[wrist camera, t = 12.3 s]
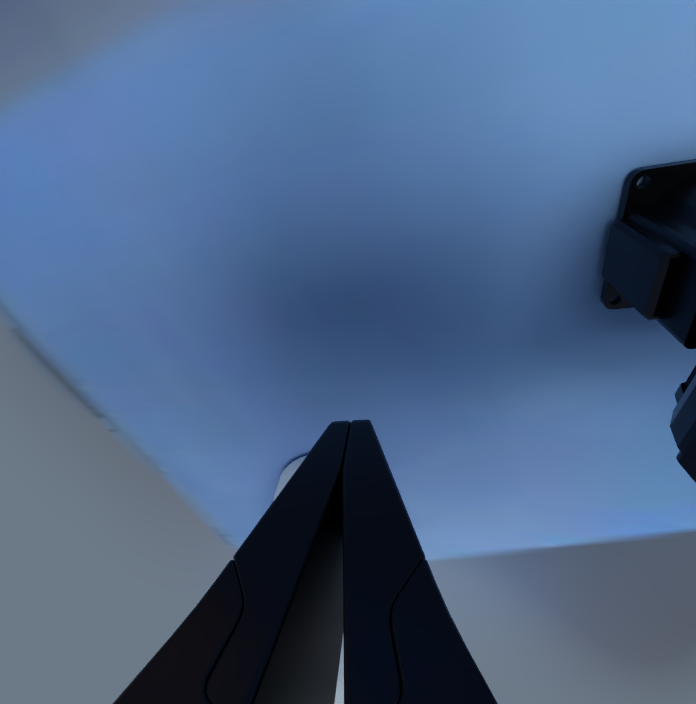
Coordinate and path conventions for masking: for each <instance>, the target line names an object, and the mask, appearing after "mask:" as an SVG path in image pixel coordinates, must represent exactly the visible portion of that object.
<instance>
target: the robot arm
mask: <svg viewBox="0 0 696 704" xmlns="http://www.w3.org/2000/svg"><path fill="white" fill-rule="evenodd" d="M643 176H645V181H644V183H643V184H641V185H640V186H637V181H638V180H639V179H640V178H641V177H643ZM602 276H603V277H604V278H605V280H604V285H603V290H602V294H601V302H602V303H603V305H604V306H605V307H606V308H608V309H621V308H632V307H634V308H635V309H636V310H637V311H638V312H639V313H640V314H641V315H642V316H644V317H645V318H646V319H647V320H657V321H658V322H659V323H660V324H661V325H662V326H664V327H665V328H666V329H667V330H668V331H669V332H670V333H671V334H672V335H673V336H674V337H675V338H676V339H677V340H678V341H679V342H680V343H682V344H683V345H684V346H685V347H686V348H688V349H696V159H694V160H687V161H680V162H674V163H667V164H660V165H653V166H647V167H641V168H638V169H636V170H634V171H633V172H631V173H630V175H629V176H628V177H627V180H626V182H625V187H624V191H623V196H622V201H621V205H620V210H619V215H618V219H617V221H616V222H615V223H614V224H613V225H612V228H611V232H610V237H609V242H608V247H607V252H606V257H605V261H604V266H603V271H602ZM614 296H617V298H616V299H615V300H613V301H610V299H611V298H612V297H614ZM675 398H676V401H677V405H676V407H675V409H674V410H673V415H672V419H671V424H670V428H671V430H672V433H673V436H674V439H675V441H676V444H677V447H678V448H679V450H680V451H679V453H678V454H677V457H676V458H677V460H678V462H679V463H680V465H681V466H682V467H683V468H684V469H685V471H686V472H687V473H688V474H689V475H690V477H691V478H692V479H693V480H694V481H695V482H696V366H695V367H694V369H693V371H692V372H691V374H690V376H689V377H688V379H687V381H686V382H685V383H681V385H680V386H679V388H678V390H677V391H676V393H675ZM233 558H234V560H231V561H230V562H229V563H228V564H227V566H226V567H225V569H224V570H223V571H222V573H221V574H220V575H219V577H218V578H217V579H216V581H215V582H214V583H213V585H212V586H211V587H210V589H209V590H208V591H207V592H206V594H205V595H204V597H203V598H202V599H201V600H200V602H199V603H198V604H197V606H196V607H195V608H194V609H193V610H192V612H191V613H190V614H189V615H188V617H187V618H186V619H185V620H184V621H183V622H182V624H181V625H180V626H179V627H178V628H177V630H176V631H175V632H174V633H173V635H172V636H171V637H170V638H169V639H168V640H167V642H166V643H165V644H164V645H163V646H162V647H161V648H160V650H159V651H158V652H157V653H156V654H155V656H154V657H153V658H152V659H151V660H150V661H149V662H148V663H147V665H146V666H145V667H144V668H143V669H142V670H141V672H140V673H139V674H138V675H137V676H136V678H134V680H133V681H132V682H131V683H130V684H129V685H128V687H127V688H126V689H125V690H124V691H123V692H122V694H121V695H120V696H119V697H118V698H117V699H116V700H115V702H114V703H113V704H334V703H335V695H336V687H337V679H338V671H339V663H340V655H341V648H342V640H343V637H344V704H498V703H497V702H496V700H495V698H494V696H493V694H492V693H491V691H490V689H489V687H488V685H487V683H486V682H485V680H484V678H483V676H482V674H481V672H480V671H479V669H478V667H477V665H476V663H475V661H474V660H473V658H472V656H471V654H470V652H469V650H468V649H467V647H466V645H465V643H464V641H463V639H462V637H461V635H460V633H459V631H458V629H457V627H456V625H455V623H454V621H453V619H452V618H451V615H450V613H449V611H448V609H447V607H446V605H445V602H444V600H443V598H442V595H441V593H440V591H439V589H438V586H437V584H436V582H435V579H434V577H433V574H432V572H431V569H430V567H429V564H428V562H427V560H425V555H424V552H423V550H422V547H421V545H420V542H419V540H418V537H417V535H416V532H415V530H414V528H413V525H412V523H411V520H410V518H409V515H408V513H407V510H406V508H405V505H404V503H403V500H402V498H401V495H400V493H399V490H398V488H397V485H396V483H395V480H394V478H393V475H392V473H391V470H390V468H389V465H388V463H387V460H386V458H385V455H384V453H383V451H382V448H381V446H380V443H379V441H378V438H377V436H376V433H375V431H374V428H373V426H372V423H371V421H370V420H354V421H352V422H349V421H335V422H332V423H331V424H330V425H329V426H328V427H327V429H326V430H325V431H324V433H323V434H322V436H321V437H320V438H319V440H318V441H317V442H316V444H315V445H314V447H313V448H312V449H311V451H310V452H309V453H308V455H307V456H306V458H305V459H304V460H303V462H302V463H301V464H300V466H299V467H298V469H297V470H296V471H295V473H294V474H293V475H292V477H291V478H290V480H289V481H288V482H287V484H286V485H285V486H284V488H283V489H282V491H281V492H280V493H279V495H278V496H277V497H276V499H275V500H274V501H273V503H272V504H271V506H270V507H269V508H268V510H267V511H266V512H265V514H264V515H263V517H262V518H261V519H260V521H259V522H258V523H257V525H256V526H255V528H254V529H253V530H252V532H251V533H250V534H249V536H248V537H247V539H246V540H245V541H244V543H243V544H242V545H241V547H240V548H239V550H238V551H237V552H236V554H235V555H234V557H233Z"/></svg>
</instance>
